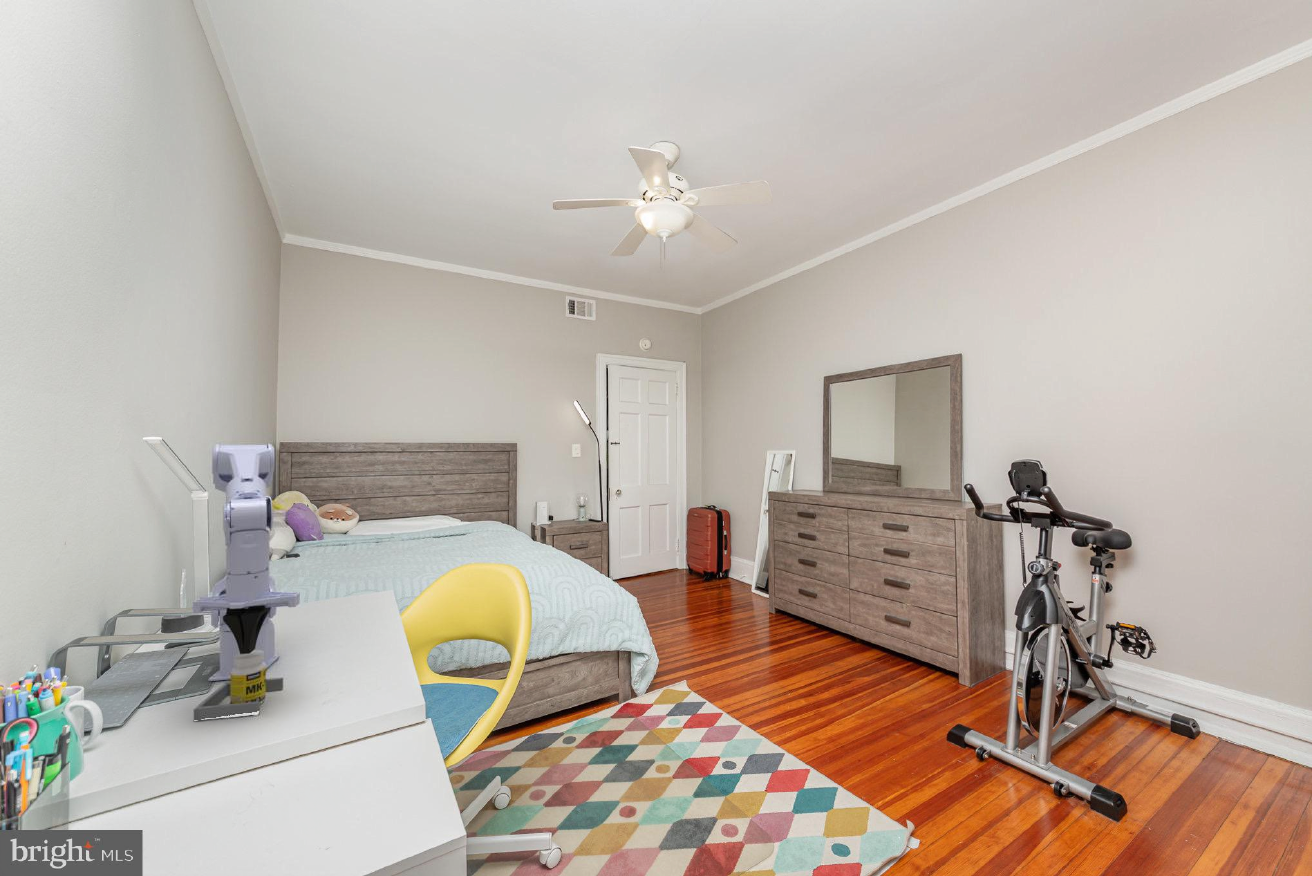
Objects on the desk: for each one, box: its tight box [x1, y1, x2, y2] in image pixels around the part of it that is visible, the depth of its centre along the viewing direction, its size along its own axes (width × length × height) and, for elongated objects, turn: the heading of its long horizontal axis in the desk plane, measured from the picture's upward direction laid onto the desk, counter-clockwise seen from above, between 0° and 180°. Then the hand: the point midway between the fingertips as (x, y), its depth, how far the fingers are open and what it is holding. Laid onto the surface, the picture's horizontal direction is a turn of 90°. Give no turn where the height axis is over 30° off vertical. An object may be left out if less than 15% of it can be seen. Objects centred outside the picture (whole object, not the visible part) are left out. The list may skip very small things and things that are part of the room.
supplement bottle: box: [229, 650, 267, 704], centre depth 90 cm, size 5×5×8 cm
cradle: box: [193, 677, 284, 721], centre depth 90 cm, size 9×9×2 cm
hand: (247, 651), depth 89 cm, fingers closed
